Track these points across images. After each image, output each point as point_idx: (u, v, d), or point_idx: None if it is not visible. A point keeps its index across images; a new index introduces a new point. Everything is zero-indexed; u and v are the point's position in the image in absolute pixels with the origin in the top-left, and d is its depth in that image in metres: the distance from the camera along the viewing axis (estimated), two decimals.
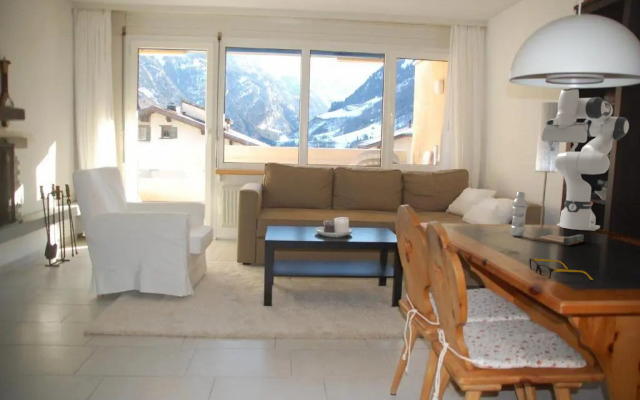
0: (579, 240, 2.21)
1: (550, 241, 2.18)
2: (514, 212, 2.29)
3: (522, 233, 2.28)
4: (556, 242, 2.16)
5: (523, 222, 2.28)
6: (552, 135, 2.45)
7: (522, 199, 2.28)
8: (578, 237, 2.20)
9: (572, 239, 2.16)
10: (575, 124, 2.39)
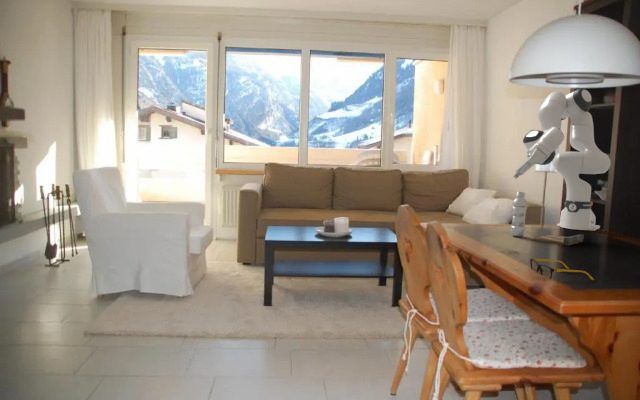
0: (579, 240, 2.21)
1: (550, 241, 2.18)
2: (514, 212, 2.29)
3: (522, 233, 2.28)
4: (556, 242, 2.16)
5: (523, 222, 2.28)
6: None
7: (522, 199, 2.28)
8: (578, 237, 2.20)
9: (572, 239, 2.16)
10: None
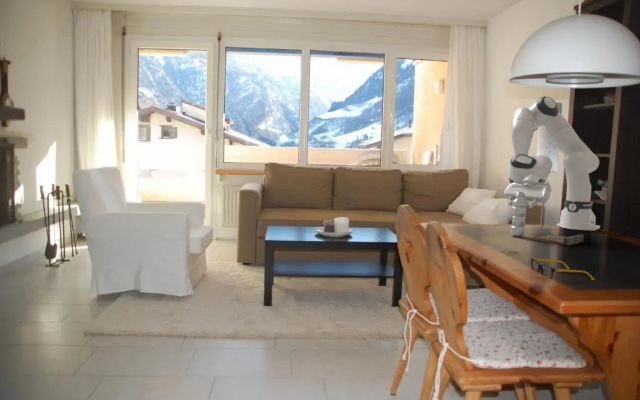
0: (579, 240, 2.21)
1: (550, 241, 2.18)
2: (514, 212, 2.29)
3: (522, 233, 2.28)
4: (556, 242, 2.16)
5: (523, 222, 2.28)
6: None
7: (522, 199, 2.28)
8: (578, 237, 2.20)
9: (572, 239, 2.16)
10: None
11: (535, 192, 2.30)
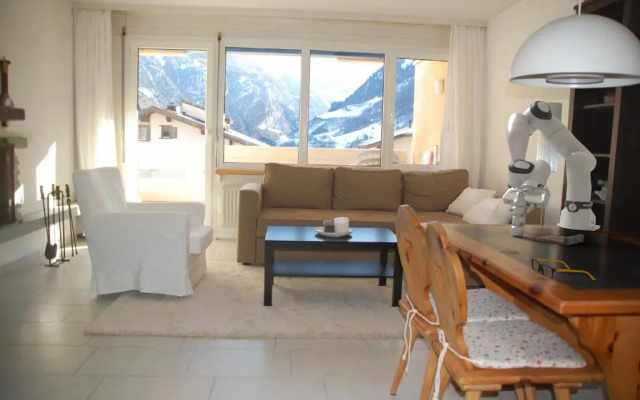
0: (579, 240, 2.21)
1: (550, 241, 2.18)
2: (514, 212, 2.29)
3: (522, 233, 2.28)
4: (556, 242, 2.16)
5: (523, 222, 2.28)
6: None
7: (522, 199, 2.28)
8: (578, 237, 2.20)
9: (572, 239, 2.16)
10: None
11: (534, 197, 2.28)
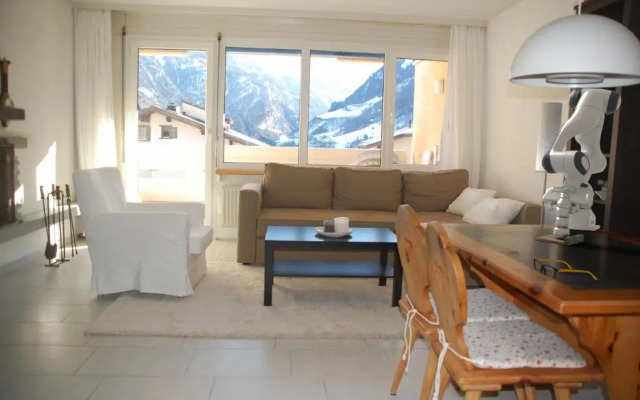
0: (579, 240, 2.21)
1: (550, 241, 2.18)
2: (558, 213, 2.21)
3: (566, 235, 2.19)
4: (556, 242, 2.16)
5: (567, 224, 2.20)
6: None
7: (567, 200, 2.19)
8: (578, 237, 2.20)
9: (572, 239, 2.16)
10: None
11: (577, 197, 2.20)
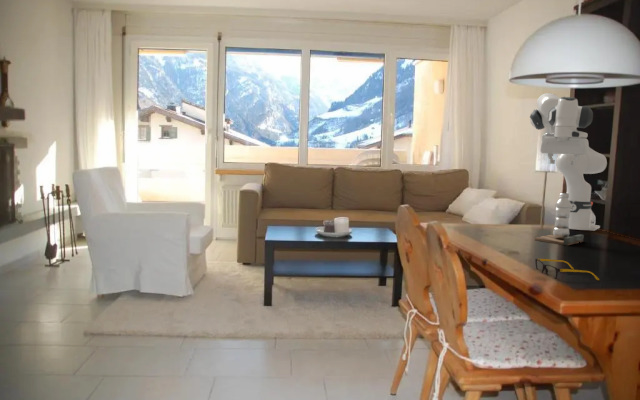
0: (579, 240, 2.21)
1: (550, 241, 2.18)
2: (557, 213, 2.21)
3: (566, 235, 2.20)
4: (556, 242, 2.16)
5: (567, 224, 2.20)
6: None
7: (566, 200, 2.19)
8: (578, 237, 2.20)
9: (572, 239, 2.16)
10: None
11: (573, 147, 2.26)
